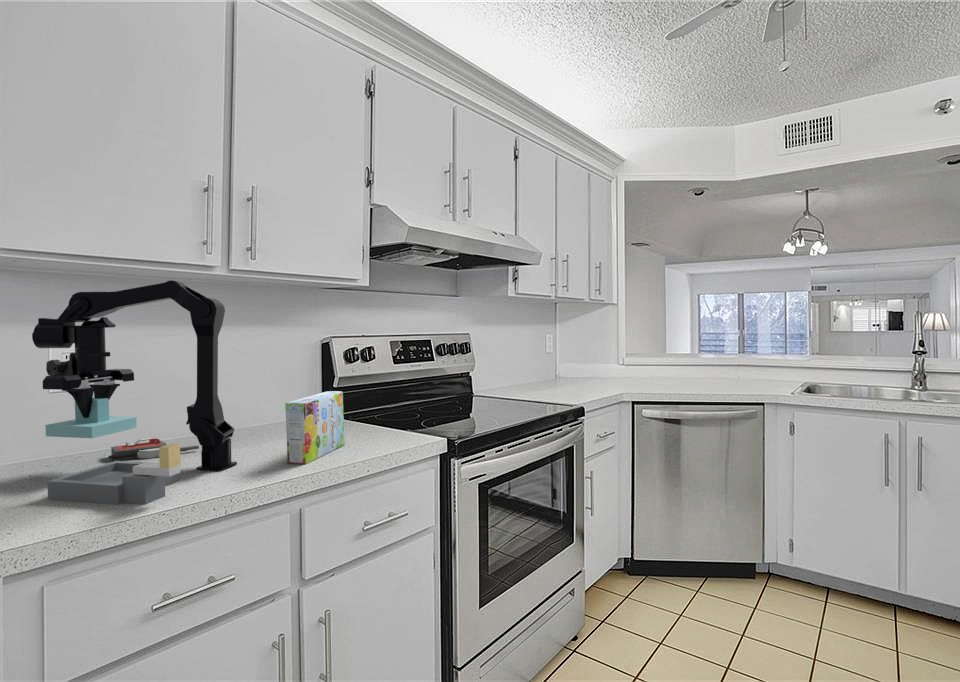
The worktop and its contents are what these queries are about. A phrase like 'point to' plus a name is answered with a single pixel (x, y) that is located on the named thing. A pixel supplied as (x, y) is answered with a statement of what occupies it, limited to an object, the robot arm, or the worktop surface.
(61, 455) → the worktop surface
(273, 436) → the worktop surface
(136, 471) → the white yellow l-shaped block
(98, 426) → the cover
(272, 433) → the worktop surface
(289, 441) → the snack box
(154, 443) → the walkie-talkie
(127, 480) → the tray
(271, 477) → the worktop surface
